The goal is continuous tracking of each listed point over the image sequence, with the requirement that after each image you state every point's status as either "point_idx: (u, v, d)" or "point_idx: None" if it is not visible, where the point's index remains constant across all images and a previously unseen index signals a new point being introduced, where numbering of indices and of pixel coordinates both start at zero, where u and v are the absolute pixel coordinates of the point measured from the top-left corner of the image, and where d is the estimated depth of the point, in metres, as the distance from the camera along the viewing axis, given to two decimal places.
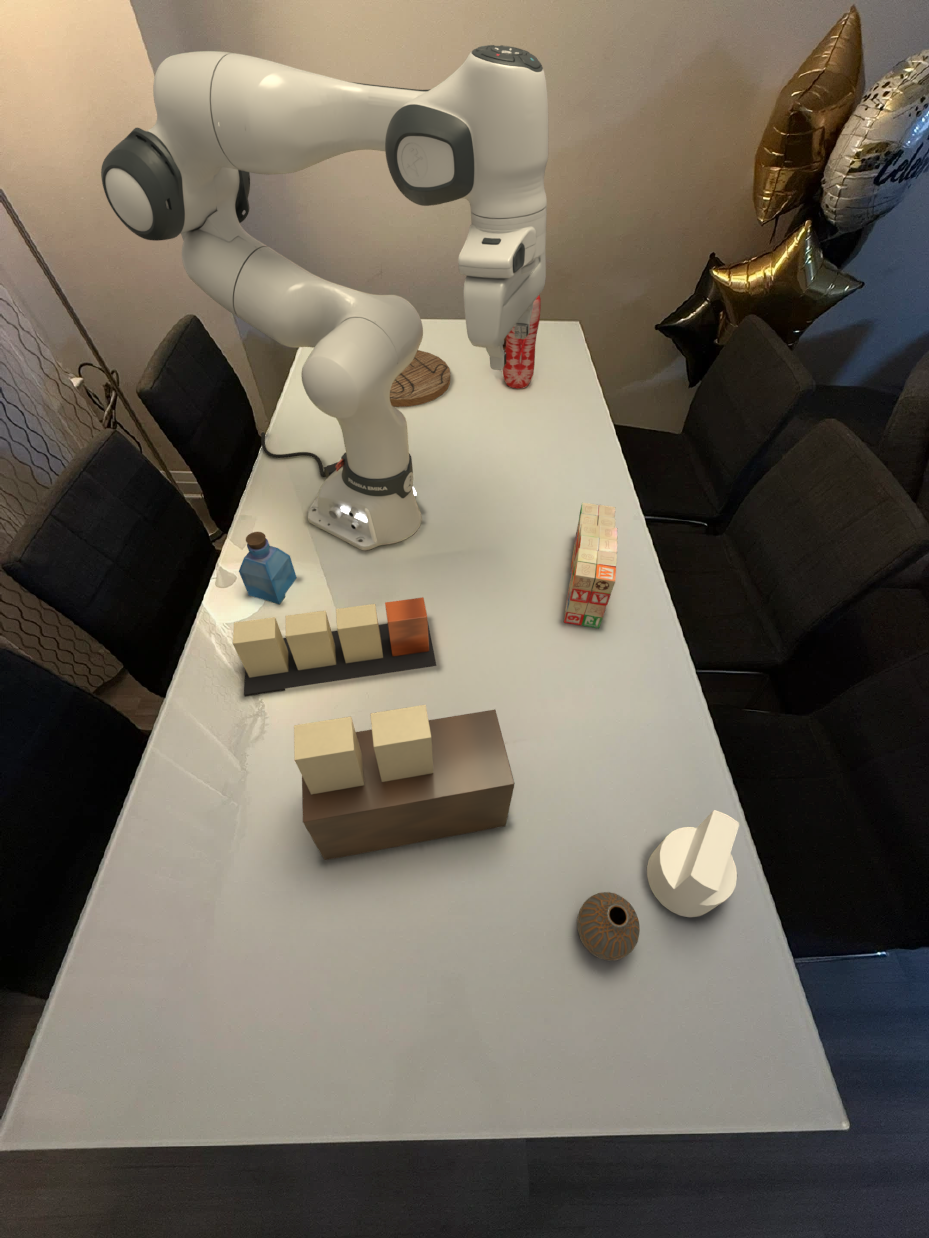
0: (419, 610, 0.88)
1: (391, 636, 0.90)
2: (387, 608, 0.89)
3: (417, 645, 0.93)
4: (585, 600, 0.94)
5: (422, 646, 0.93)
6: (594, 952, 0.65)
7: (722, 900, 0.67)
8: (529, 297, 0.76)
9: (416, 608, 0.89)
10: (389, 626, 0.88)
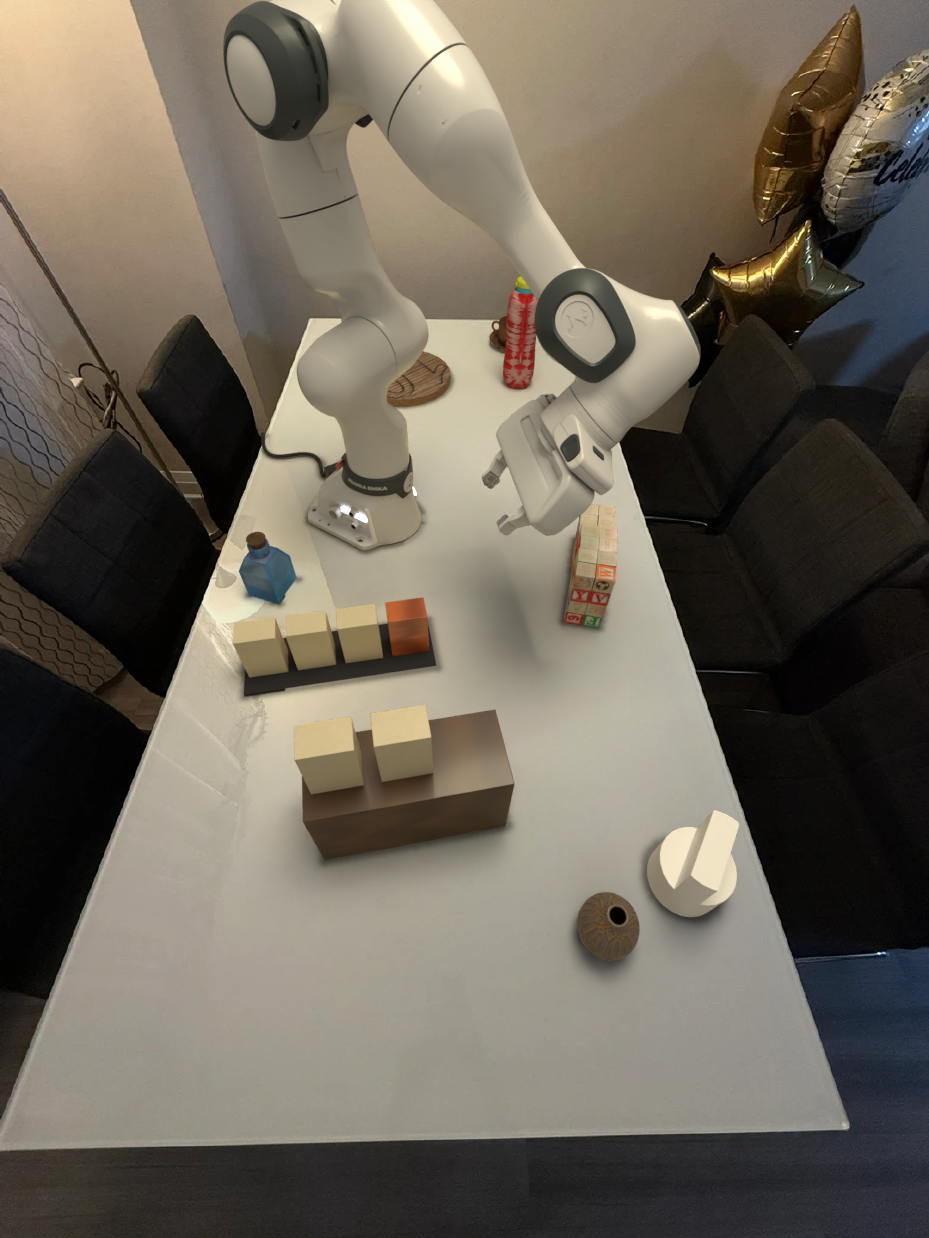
0: (419, 610, 0.88)
1: (391, 636, 0.90)
2: (387, 608, 0.89)
3: (417, 645, 0.93)
4: (585, 600, 0.94)
5: (422, 646, 0.93)
6: (594, 952, 0.65)
7: (722, 900, 0.67)
8: None
9: (416, 608, 0.89)
10: (389, 626, 0.88)
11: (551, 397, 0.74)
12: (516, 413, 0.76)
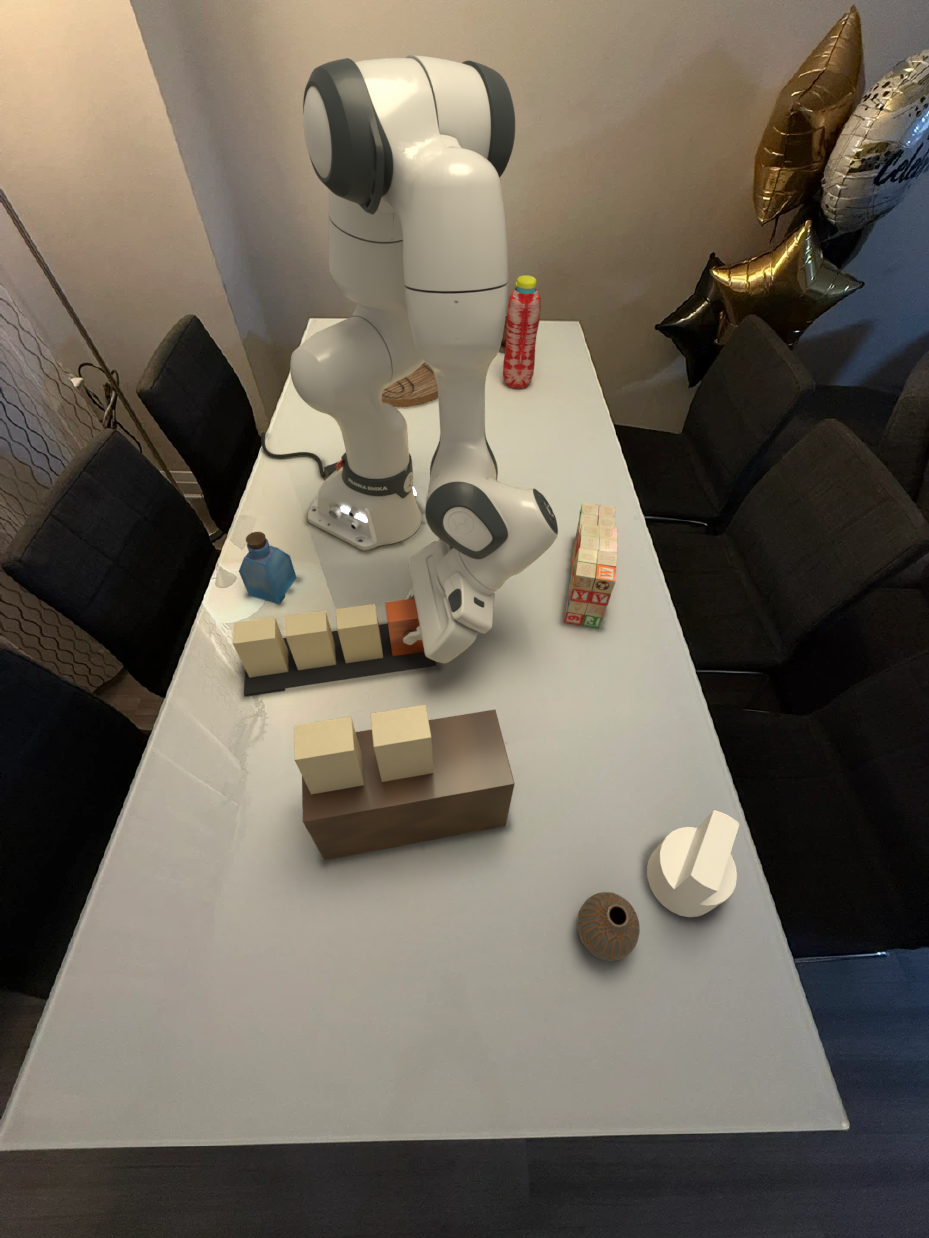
0: None
1: (391, 636, 0.90)
2: (387, 608, 0.89)
3: (417, 645, 0.93)
4: (585, 600, 0.94)
5: (422, 646, 0.93)
6: (594, 952, 0.65)
7: (722, 900, 0.67)
8: None
9: (416, 608, 0.89)
10: (389, 626, 0.88)
11: None
12: (424, 550, 0.92)
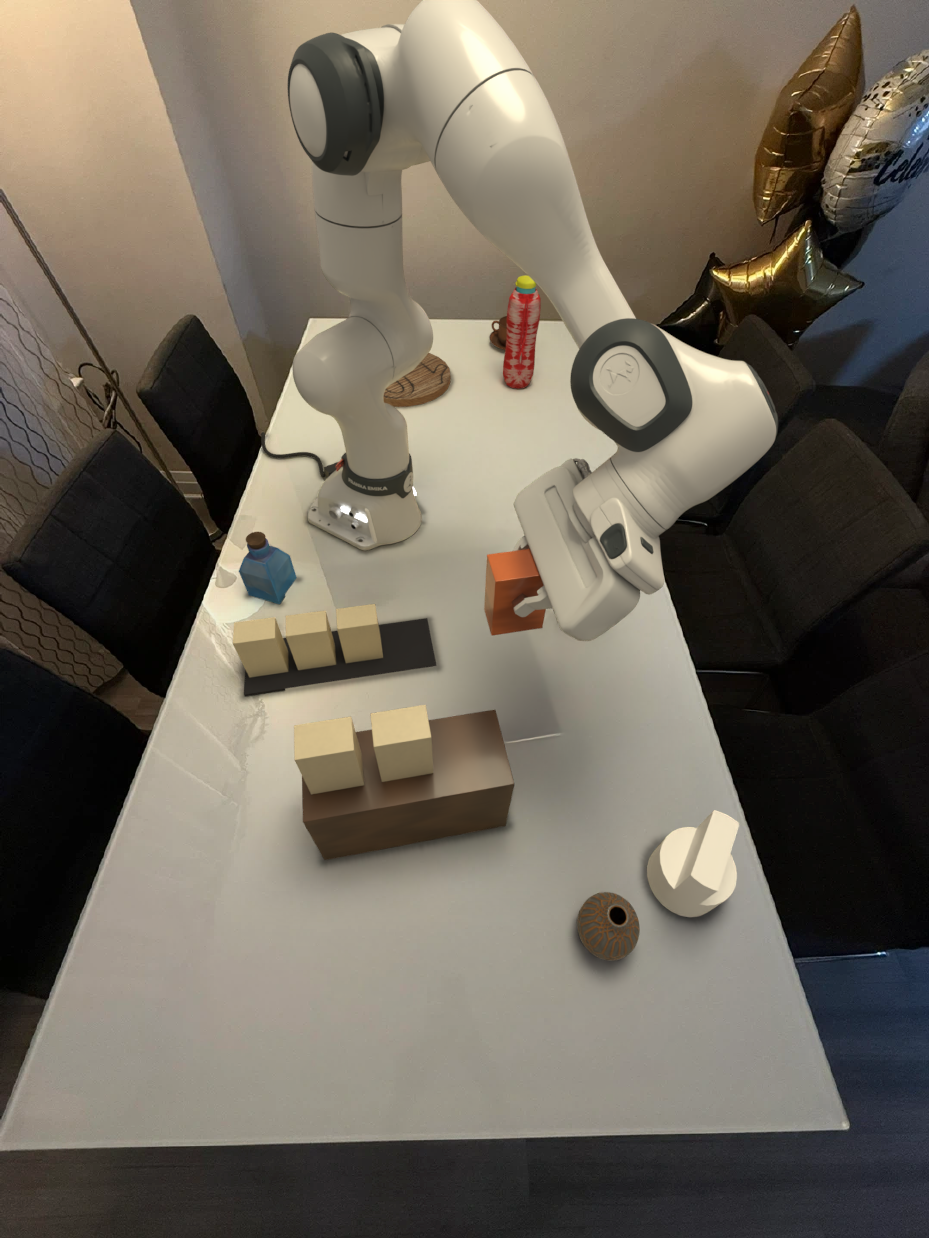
0: None
1: (496, 604, 0.61)
2: (491, 562, 0.60)
3: (528, 619, 0.64)
4: None
5: (534, 620, 0.65)
6: (594, 952, 0.65)
7: (722, 900, 0.67)
8: None
9: (533, 562, 0.60)
10: (496, 588, 0.59)
11: (582, 464, 0.62)
12: (539, 481, 0.64)
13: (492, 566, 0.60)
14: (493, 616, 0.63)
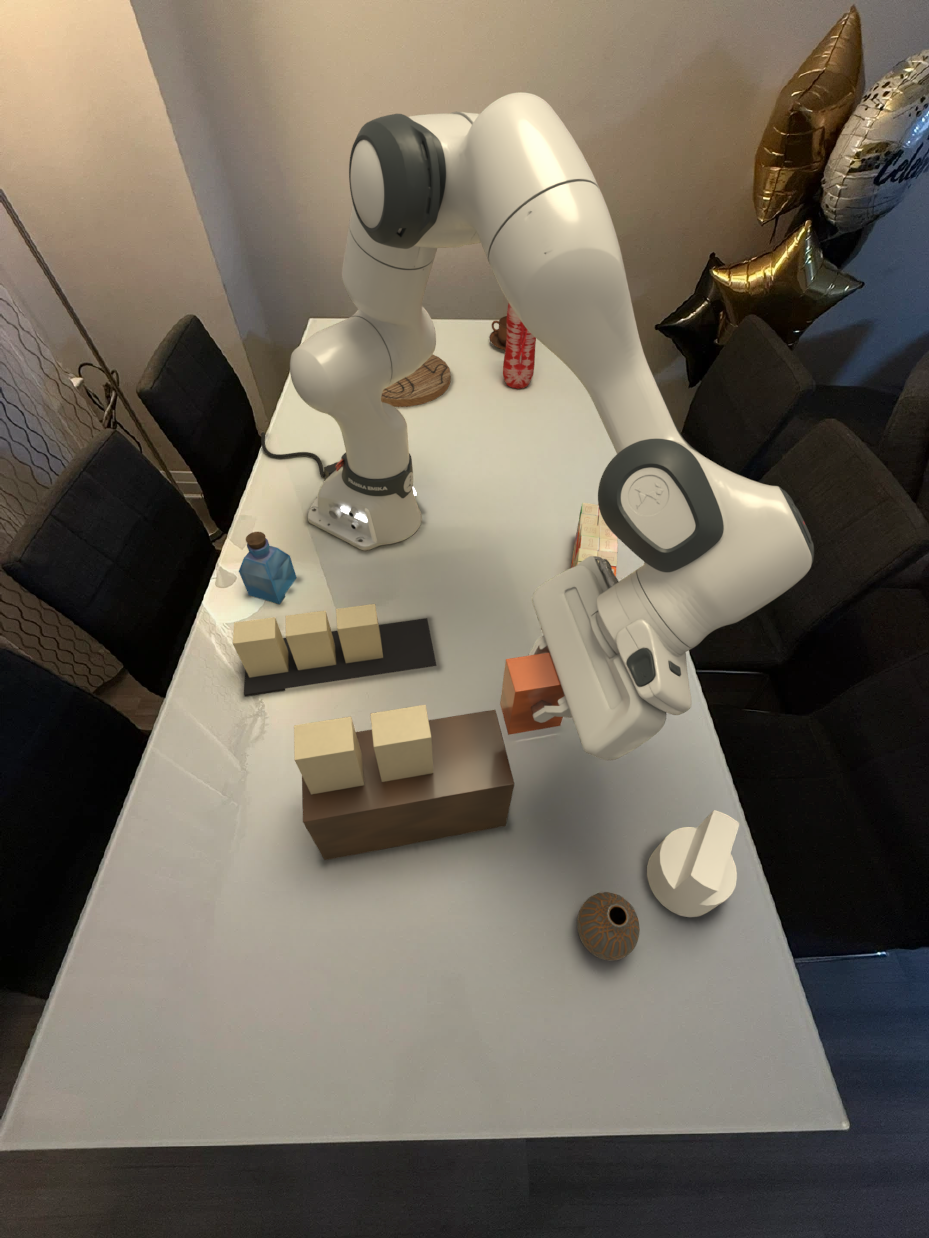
0: None
1: (514, 710, 0.59)
2: (511, 669, 0.58)
3: None
4: None
5: (553, 720, 0.63)
6: (594, 952, 0.65)
7: (722, 900, 0.67)
8: None
9: (554, 668, 0.58)
10: (516, 697, 0.57)
11: (604, 565, 0.60)
12: (558, 578, 0.62)
13: (511, 673, 0.58)
14: (511, 719, 0.61)
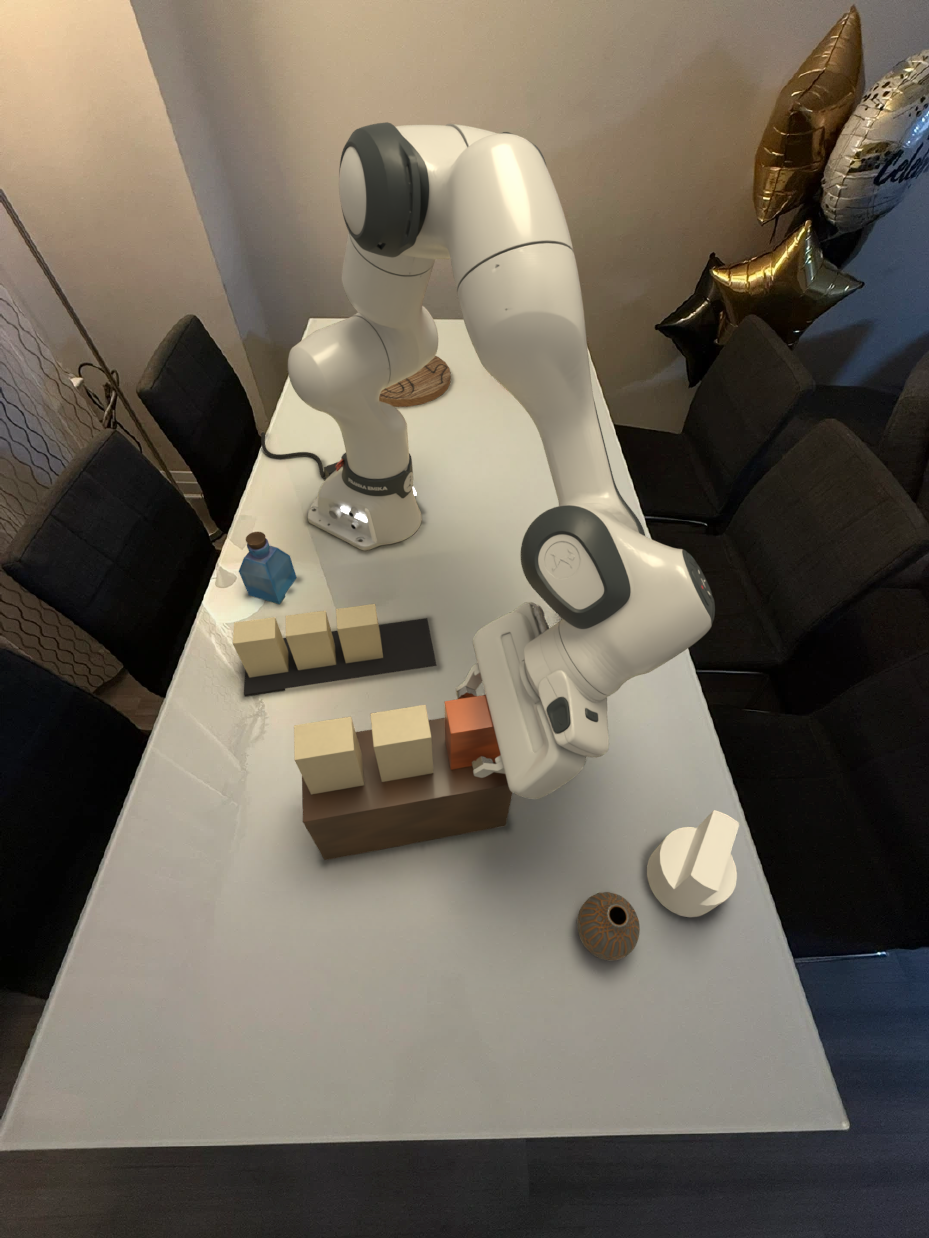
0: None
1: (453, 748, 0.64)
2: (448, 711, 0.62)
3: (485, 756, 0.67)
4: None
5: (492, 756, 0.67)
6: (594, 952, 0.65)
7: (722, 900, 0.67)
8: None
9: (489, 710, 0.62)
10: (452, 738, 0.62)
11: (537, 612, 0.64)
12: (496, 623, 0.66)
13: (449, 715, 0.62)
14: (451, 756, 0.65)
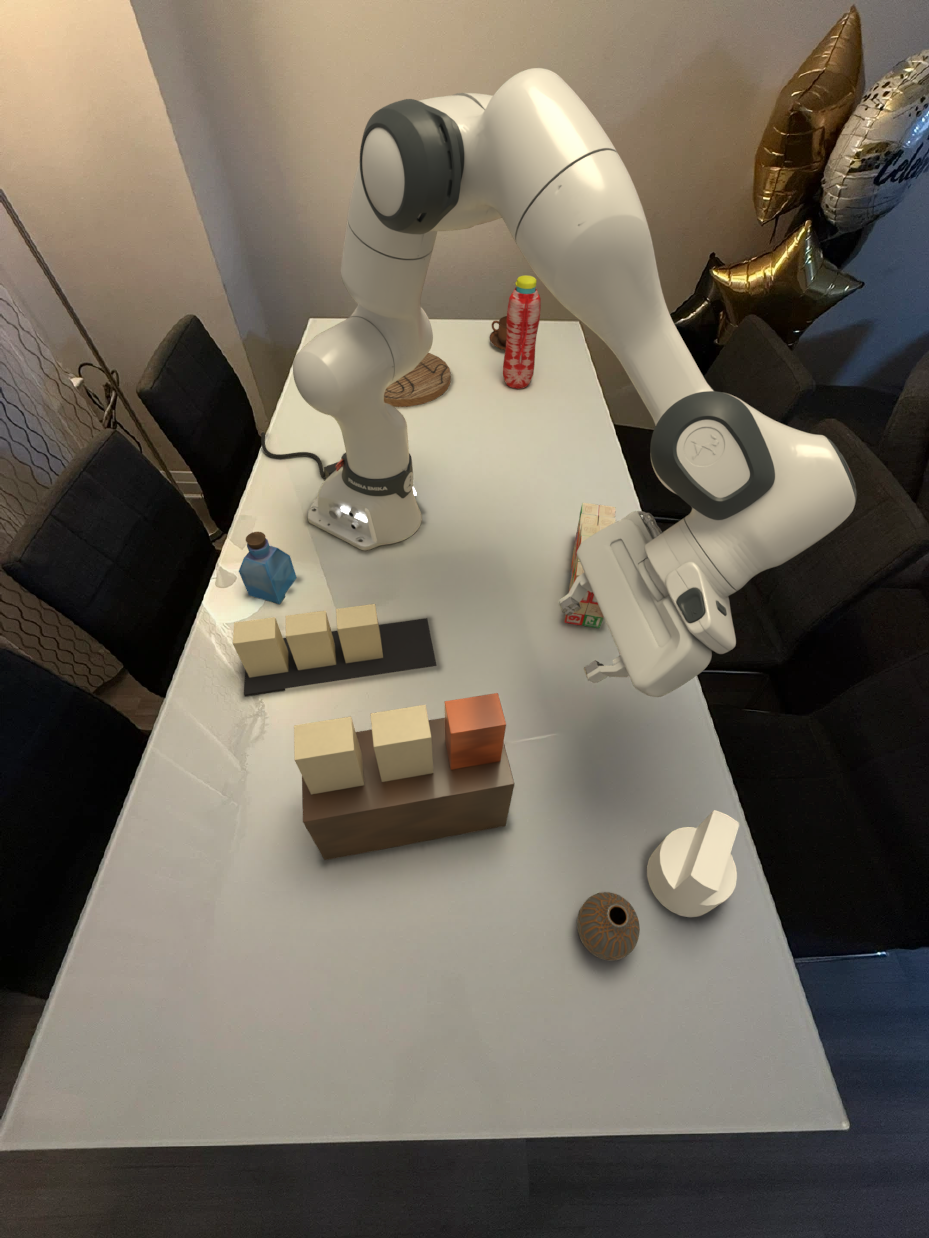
0: (494, 713, 0.62)
1: (453, 748, 0.64)
2: (448, 711, 0.62)
3: (485, 756, 0.67)
4: (586, 600, 0.94)
5: (492, 756, 0.67)
6: (594, 952, 0.65)
7: (722, 900, 0.67)
8: None
9: (489, 710, 0.62)
10: (452, 738, 0.62)
11: (648, 518, 0.63)
12: (604, 532, 0.65)
13: (449, 715, 0.62)
14: (451, 756, 0.65)
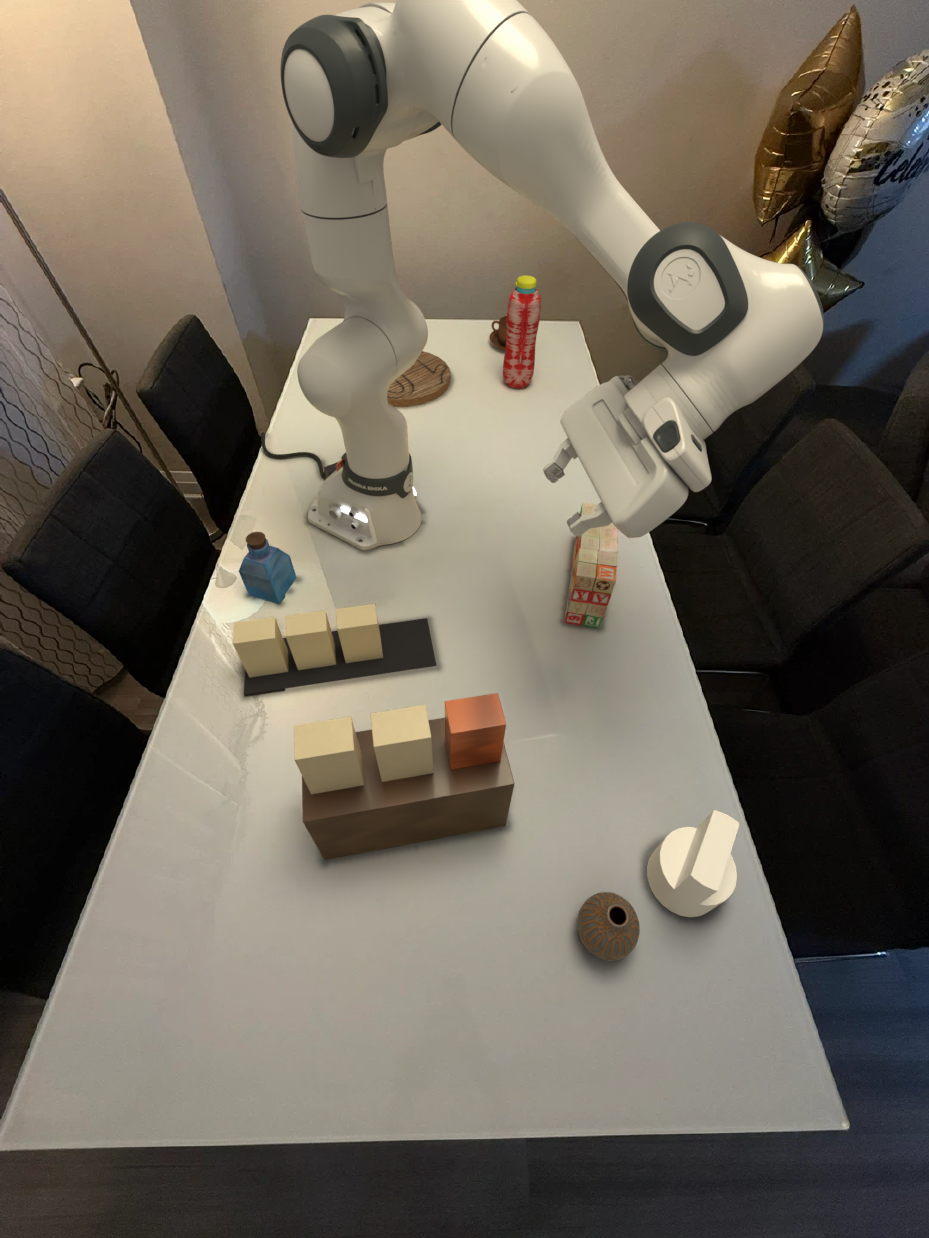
0: (494, 713, 0.62)
1: (453, 748, 0.64)
2: (448, 711, 0.62)
3: (485, 756, 0.67)
4: (586, 600, 0.94)
5: (492, 756, 0.67)
6: (594, 952, 0.65)
7: (722, 900, 0.67)
8: None
9: (489, 710, 0.62)
10: (452, 738, 0.62)
11: (628, 379, 0.65)
12: (586, 397, 0.67)
13: (449, 715, 0.62)
14: (451, 756, 0.65)
